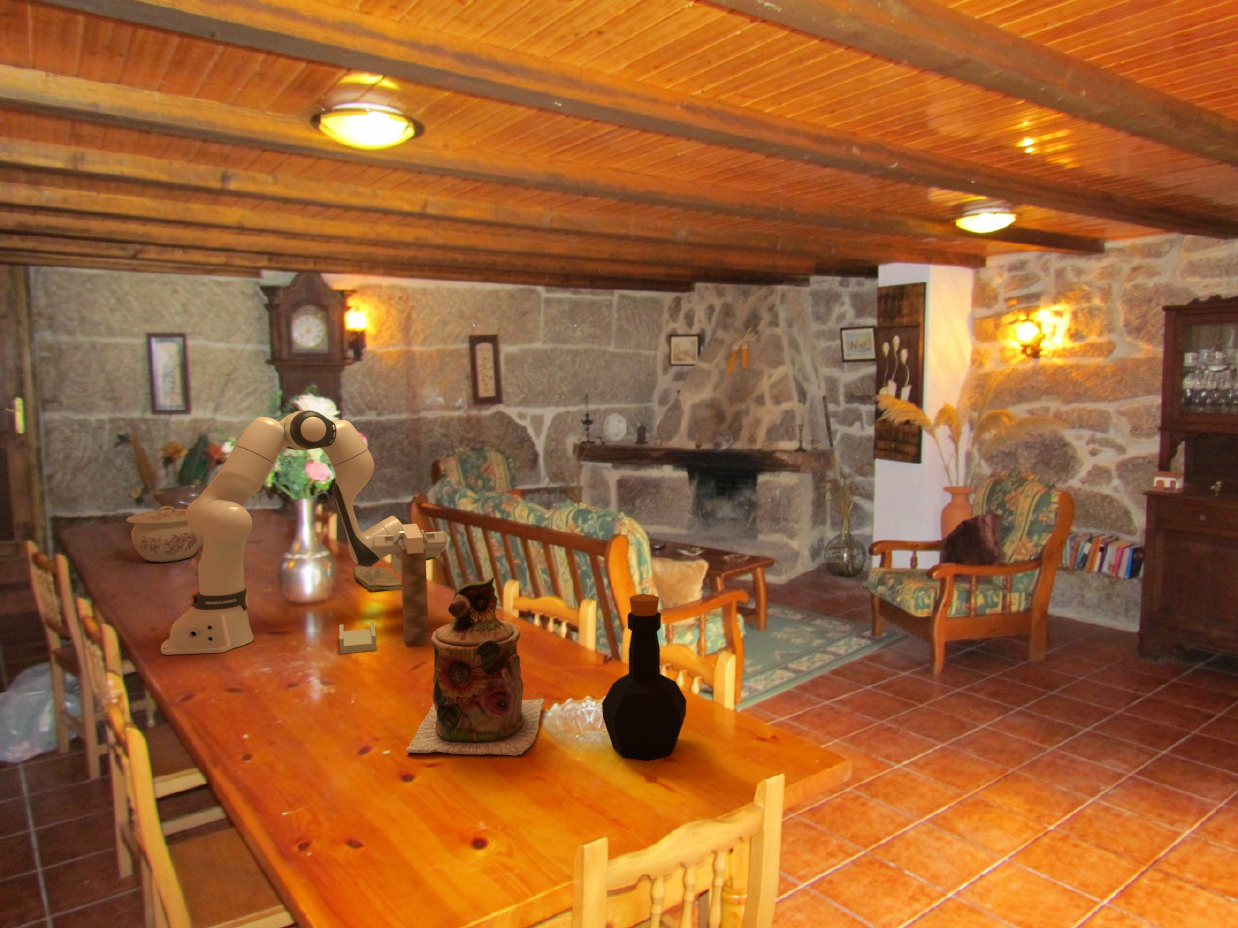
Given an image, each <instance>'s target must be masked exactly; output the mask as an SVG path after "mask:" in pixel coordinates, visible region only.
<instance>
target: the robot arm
mask: <svg viewBox="0 0 1238 928" xmlns="http://www.w3.org/2000/svg"><path fill="white" fill-rule="evenodd" d="M285 449H290V450H293V451H294V450H295V451H310V450H315V449H316V450H317V449H320V450H321V451H323V453H324V454H325V455H326V456H327V458H328V461H329V462H330V464H331V466H332V468H333V470H334V475H335V476H334V477H335V481H334V484H333V486H332V487H331V492H332V497H333V501H334V504H335V507H336V510H337V514H338V517H339V520H340V523H341V525H342V529H343V532H344V535H345V539H346V542H347V547H348V552H349V555H350V557H351V559H352V560H353V562H354V563H355V564H356V565H358V567H373V566H374V565H375V564H377V563H378V562H379V561H381V560H382V559H384V558H385V557H387V556H389V555H391V565H392V569H393V570H394V572H395V573H396V574H397V575H399V576H401V577H402V575H401V546H400V545H404V543H403V540H402V539H403V531H402V525H404V524H410V523H409V522H408V520H407V519H406V518H403V517H401V516H399V515H394V514H393V515H390V516H389V517H387V518H385V519H382V520H381V521H379V522H378V523H376V524H375V525H372V526H371V527H368V528H367V529H366V530H363V531H361V529H360V526H359V523H358V520H357V517H356V513H355V510H354V502H355V500H356V497H357V496H358V494H359V493H360V492H361V491H362V489H363V488H364V487H365V486H366V485H367V484H368V482H369V481H370V480H371V478H372V476H373V475H374V471H375V462H374V459H373V456H372V454H371V452H370V450H369V448H368V446H367V444H366V443H365V441H364V439H363V438H362V436H361V434H360V433H359V432H358V430H357V429H356V428H355V426H354V425H353V424H352V423H351V422H350V421H349V420H346V419H336V420H331V419H329V418H328V417H326V416H325V415H324V414H322V413H320V412H318V411H316V410H310V409H309V410H298V411H294V412H292V413H289V414H287V415H285V416H283V417H282V418H280V419H278V420H276V419H275V418H272V417H269V416H267V417H266V416H258V417H256V418H254V419H253V420H252V421H251V422H250V423H249V424H248V426H247V427H246V428H245V430H244V431H243V432H242V433H241V435H240V436H239V438H238V439H237V441H236V443H235V445H234V446H233V448H232V450H231V452H230V453H229V455H228V457H227V459H226V460H225V462H224V464H223V465H222V467H221V468H220V470H219V472H218V473H217V474H216V476H215V477H214V478H213V479H212V481H210V483H209V484H208V485H207V486H206V488H205V489H204V490H203V491H202V492H201V494H200V495H199V496H198V497H197V498H195V499H194V500H192V502H191V503H189V505H188V506H187V508H186V509H187V510H186V515H185V516H186V521H187V523H188V525H189V527H190V528H191V529H192V530H193V531H194V532H195V533H196V534H198V535H201V536H203V537H202V538H203V541H204V542H203V544H202V552H201V556H200V560H199V561H198V563H197V572H198V585H199V587H198V588H199V590H195V591H193V593H192V594H191V599H190V601H191V607H190V608H189V609H188V610H186V612H185V613H183V614H182V615H181V616H180V617H179V618H177V619H176V620H175V621H174V623H173V624H172V625H171V628H170V632H169V638H167V639H166V640H164V641H163V642H162V644H161V645H160V653H161V654H162V655H165V656H166V655H169V656H171V655H189V654H190V655H191V654H192V655H193V654H215V653H225V652H227V651H230V650H232V649H235V648H239V647H241V646H245V645H246V644H250V643H251V642H253V640H254V639H255V636H254V634H253V631H252V627H251V624H250V620H249V616H248V610H247V609H248V607H249V603H248V601H249V600H248V597H249V596H248V592H247V588H246V586H245V570H244V569H245V567H244V565H245V564H244V561H245V560H244V559H245V558H244V557H245V550H246V544H247V539H248V536H249V535H250V533H251V531H252V528H253V519H252V516H251V514H250V513H249V512H248V511H247V509H246V508H244V505H245V504H247V502H248V501H249V500H250V499H251V497H253V495H255V494H256V493H258V492H259V491H260V490H261V488H262V487H263V484H264V483H265V481H266V479H267V478H268V476H269V474H270V472H271V471H272V468H273V466H274V465H275V463H276V460H277V459H278V457H279V455H280V454H281V452H283V450H285ZM419 530H420V529H419ZM420 532H421V534H422V536H423V544H424V546H425V548H426V562H427V561H431V560H436V559H438V558H440V557H441V553H442V552H444V550H445V549H446V547H447V542H448V541H447V532H445V531H442V530H441V531H430V532H424V530H423V529H421V530H420Z"/></svg>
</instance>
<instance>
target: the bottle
mask: <svg viewBox="0 0 1238 928" xmlns="http://www.w3.org/2000/svg"><path fill="white" fill-rule="evenodd" d="M659 601H660V597H659V596H657V595H655V594H649V593H648V594H647V593H639V594H635V595H634V594H633V595H632V596H630V597H629V603H630V604H629V606H630V611H629V613H628V614H627V629H628V630H629V631H631V634H630V641H629V648H628V673H627V674H625V675H624V676H621V677H619V678H618V679H617V680H615V682H613V683H612V684H611V686H610V688H609V690H608V691H607V694H606V695H605V697H604V699H603V700H602V702H601V705H602V706H601V707H602V719H603V722H604V725H605V728H606V731H607V733H608V737H609V739H610V742H611V743H610V744H611V745H612V748H613V749H614V750H615V752H616V753H618V755H620V756H621V757H622V758H625V759H626V758H627V759H633V760H639V761H645V762H649V761H653V760H659V759H662V758H665V757H669V756H671V755H672V753H673V752H674V749H675V748H676V746H677V743H678V739H679V736H680V732H681V730H682V728H683V724H684V721H685V717H686V714H687V699H686V697H685V695H684V694H683V692H682V690H681V688H680V687H679V685H678V683H677V681H675V680H674V679H672V678H670V677H667V676H666V675H664V674H661V649H660V648H661V647H660V643H659V636H658V632H659V630H660V629H661V628H662V614H661V612H658V611H659V610H658V609H659Z"/></svg>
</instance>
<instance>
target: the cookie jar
mask: <svg viewBox="0 0 1238 928" xmlns="http://www.w3.org/2000/svg"><path fill="white" fill-rule="evenodd" d="M495 578H496V576H494V575H492V576H491V577H490V578H489V579H487V580H486V581H476V582H470V583H469V582H468V583H466V584H463V585H462V586H460V587H459V588H458V589H457V590H456V591H455V593H454V596H453V599H452V601H451V603H450V605H449V606H448V608H447V610H448V612H449V614H450V615H451V616H452V617H454V619H453V620H452V621H451V622H450V623H448V624H445V625H442V626H440V627H438V628H437V629H435V631H433V633H432V636H431V638H430V644H431V646H432V647H433V650H434V664H433V666H434V672H433V676H432V681H433V688H432V689H433V690H432V704H431V707H430V708H429V712H428V713H427V714H426V715H425V718H424V719H423V720H422V721H421V723H420V724H419V727H418V729H417V732H416V733H415V735H414V738H413V739H412V740H411V741H410V744H409V746H407V747H406V749H405V750H406V753H408V754H410V753H413V754H414V753H415V754H416V753H418V754H427V753H428V754H429V753H430V754H431V753H435V752H439V753H440V752H441V753H447V754H451V755H452V754H453V755H455V754H456V755H502V756H503V755H507V756H508V755H509V756H515V757H516V756H519V755H523V754H524V752H525V751H527V750H528V749H529V748H530V747H531V746H532V745H533V744H534V742H535V740H536V737H537V733H538V731H539V729H540V728H539V727H540V726H539V723H540V719H541V713H542V710H543V707H544V704H545V701H546V700H545V699H544V698H534V699H525V700H524V699H523V696H524V689H525V688H524V681H523V677H522V675H521V673H522V668H521V658H520V655H519V654H518V644H517V643H518V641H519V640H520V637H521V630H520V629H519V627H518V626H517V625H516V624H515V623H513V622H509V621H503V620H500V619H498V618H497V615H496V610H497V606H498V605H497V604H498V600H499V598H498V596H497V595H496V594H495V593H496V588H495V587H494V585H493V584H494V580H495Z"/></svg>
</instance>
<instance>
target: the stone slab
mask: <svg viewBox="0 0 1238 928" xmlns="http://www.w3.org/2000/svg"><path fill="white" fill-rule="evenodd" d="M352 569H353V578H354V580H356V581H359V583H360V584H361V585H362V586H364V587H365V588H366V589H368V591H371V592H373V593H376V592H378V591H385V592H392V591H400V590H401V591H402V581H399V580H398V579H397V578H396V575H394V573H393V572H392V570H389V569H388V568H387V567H381V566H379V567H375V566H374V567H373V566H371V567H364V566H354V567H353V568H352Z"/></svg>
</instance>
